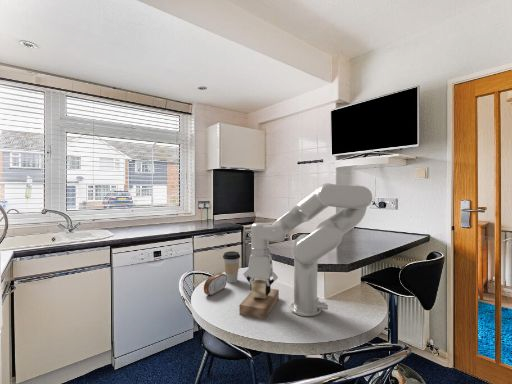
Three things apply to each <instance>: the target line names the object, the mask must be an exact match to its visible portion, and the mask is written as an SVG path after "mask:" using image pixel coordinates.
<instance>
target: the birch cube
mask: <svg viewBox="0 0 512 384" xmlns="http://www.w3.org/2000/svg"><path fill="white" fill-rule="evenodd" d="M266 286H267V284H266V281H265V279H256V278H255V279H254V281H253V282H252V283H251V290H250V293H251V297H256V298H263V299H265V298H266V297H267V295H266Z"/></svg>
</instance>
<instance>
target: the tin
mask: <svg viewBox="0 0 512 384" xmlns="http://www.w3.org/2000/svg"><path fill="white" fill-rule="evenodd" d="M227 283H228V282H227V276H226V273H223V272H218V273H216V274H213V275H211V276H209V277H208V278H206V280H205V282H204V285H203V292H204V294H205V295H208V296H213V295H216V294H217V293H220V292H221V291H223V290H224V289H225V287H226V285H227Z"/></svg>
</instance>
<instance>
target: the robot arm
mask: <svg viewBox="0 0 512 384" xmlns="http://www.w3.org/2000/svg"><path fill="white" fill-rule="evenodd" d="M372 193H373V192H372V191H371V190H370V189H369V188H368V187H366V186H364V185H360V184H359V185H358V184H356V185H347V184H344V185H343V184H333V183H329V182H325V183H323V184H321V185H320V186H319V187H317V188H316V189H314V190H313V191H312V192H311V193H309V195H307V196H305V197H304V198H303V199H302V200H301V201H299V202H298V203H297V204H295V205H294V206H293V207H292V208H290V209H289V211H287V212H286V213H285V214H283V215H281V216H280V217H279V218H278V219H277V220H275V221H274V222H273V223H272V224H269V223H266V222H254V223H252V224H251V228H250V230H251V231H250V233H251V236H250V238H251V239H250V241H251V242H250V243H251V244H250V245H251V246H250V247H251V248H250V249H251V253H250V254H249V259H248V265H247V266H248V268H247V270H245V272H244V273H242V275H243V276H244V278H245V279H246V280H247V281H248V283H249V284H250V287H249V289H250V291H251V283H252V282H253V281H254V280H255V279H265V281H266V284H267V286H266V295H268V294H269V293H270V291H271V289H272V288H271V285H272V284H273V283H275V281H277V280H278V279H279V276H278V275H277V274H276V273H275V272H274V268H273V259H272V255H271V254H273V250H272V249H270V242H272V243H281V242H283V241H284V240H285V239H286V237H287V235H288V234H289V233H290V232H292V231H293V230H294V229H295V228H297V227H299V225H302V224H304V223H306V222H309V221H311V220H313V219H314V218H315V217H317V216H318V215H319V214H320V213H322V212H323V211H324V210H325V209H327V208H329V207H332V208H333V207H334V208H341V209H340V210H338V211H337V212H336V213H335V214H333V215H331V216H330V217H329V218H327V219H325V220H323V221H321V222H320V223H319V224H318V225H317V227H316V230H314V231H313V232H311V233H310V234H308V233H303V234H300V235H298V237H296V239H295V240H294V244H293V252H292V254H293V257H294V259H293V260H294V262H293V265H294V266H293V267H294V268H293V270H294V271H293V291H294V292H293V299H294V301H293V302H291V304H290V307H289V308H290V311H291V312H292V313H294V314H295V315H298V316H302V317H313V316H317V315H319V314H321V312H322V310H324V311H326V310H327V311H328V310H329V304H327V303H326V302H323V301H320V300H319V297H318V261H319V260H320V259H321V258H322V257H324V256H326V255H328V253H330V252H332V251H333V250H335V249H336V248H337V247H338V246H339V245H340V244H341V242H342V239H343V235H345V234H347V233H348V232H350V231H351V230H352V229H354V227H356V226H357V225H359V223H360V222H361V221H362V220H363V219H364V217H365V215H366V212H367V208H368V207H369V206H370V205H371V203H372V202H373V194H372ZM271 277H272V278H271Z"/></svg>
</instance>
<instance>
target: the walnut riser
mask: <svg viewBox="0 0 512 384" xmlns="http://www.w3.org/2000/svg"><path fill="white" fill-rule="evenodd" d="M279 291H280V289H275V288H271V291H270V293H269V294H268V295H267V297H266V298H265V299H263V298H256V297H251V292H250V293H249V294H248V295H247V296H246V297H245V298H244V299H243V300H242V302H240V303H239V306H238V307H239V308H238V309H239V315H242V316H245V317H247V316H248V317H253V318H258V319H263V320H266V319H267V317H268V316H269V314H270V312H271V311H272V310H273V308H274V306H275V305H276V303H277V302H278V300H279V295H280V293H279Z"/></svg>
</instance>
